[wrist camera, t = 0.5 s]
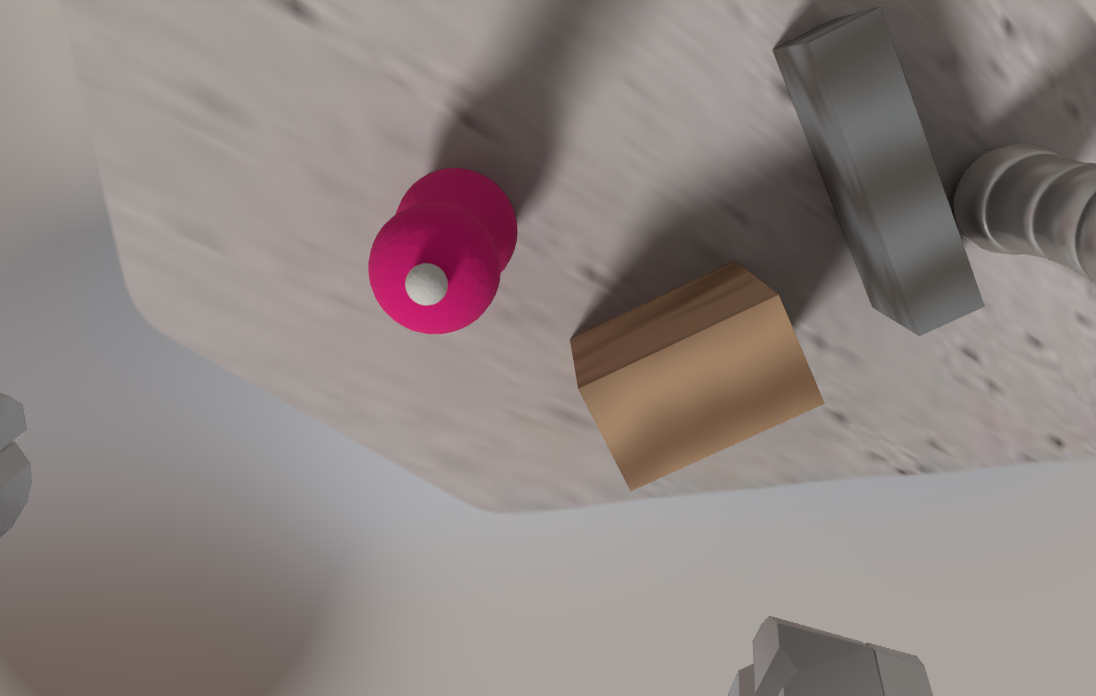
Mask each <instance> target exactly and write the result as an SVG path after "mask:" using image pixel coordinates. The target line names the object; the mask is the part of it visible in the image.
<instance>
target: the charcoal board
mask: <svg viewBox="0 0 1096 696" xmlns="http://www.w3.org/2000/svg"><path fill="white" fill-rule="evenodd" d="M773 53H774V55H775V58H776V60H777V63H778V65H779V68H780V71H781V73H782V76H783V78H784V81H785V83H786V86H787V89H788V91H789V94H790V96H791V99H792V101H793V104H794V107H795V109H796V112H797V114H798V117H799V119H800V122H801V125H802V127H803V130H804V132H805V135H806V137H807V140H808V143H809V145H810V148H811V150H812V153H813V155H814V158H815V161H816V163H817V166H818V168H819V171H820V173H821V176H822V179H823V181H824V184H825V186H826V189H827V191H828V194H829V197H830V199H831V202H832V204H833V207H834V209H835V212H836V215H837V217H838V220H839V222H840V225H841V227H842V230H843V233H844V235H845V238H846V240H847V243H848V245H849V248H850V251H851V253H852V256H853V258H854V261H855V264H856V266H857V269H858V271H859V274H860V276H861V279H862V282H863V284H864V287H865V289H866V292H867V294H868V297H869V300H870V302H871V305H872V307H873V308H874V309H876V310H878V311H879V312H881V313H883V314H884V315H886V316H887V317H889V318H891V319H892V320H894V321H896V322H897V323H899V324H901V325H902V326H904V327H905V328H907V329H909V330H910V331H912V332H914V333H915V334H917V335H919V336H921V335H923V334H925V333H927V332H929V331H932V330H934V329H936V328H938V327H940V326H943V325H945V324H947V323H949V322H951V321H954V320H956V319H958V318H960V317H962V316H965V315H967V314H969V313H971V312H973V311H976V310H978V309H980V308H982V307H984V303H983V301H982V298H981V295H980V292H979V289H978V286H977V283H976V280H975V278H974V275H973V272H972V269H971V266H970V263H969V260H968V257H967V254H966V252H965V249H964V246H963V243H962V240H961V237H960V234H959V231H958V229H957V226H956V223H955V220H954V217H953V214H952V211H951V208H950V206H949V203H948V200H947V197H946V194H945V191H944V188H943V185H942V183H941V180H940V177H939V174H938V171H937V168H936V165H935V162H934V160H933V157H932V154H931V151H930V148H929V145H928V142H927V139H926V137H925V134H924V131H923V128H922V125H921V122H920V119H919V116H918V114H917V111H916V108H915V105H914V102H913V99H912V96H911V93H910V91H909V88H908V85H907V82H906V79H905V76H904V73H903V70H902V68H901V65H900V62H899V59H898V56H897V53H896V50H895V47H894V45H893V42H892V39H891V36H890V33H889V30H888V27H887V24H886V22H885V19H884V16H883V13H882V10H881V7H879V8H875V9H871V10H867V11H863V12H859V13H856V14H852V15H848V16H844V17H840V18H836V19H833V20H831V21H829V22H827V23H825V24H823V25H821V26H819V27H817V28H815V29H813V30H811V31H809V32H807V33H805V34H803V35H801V36H799V37H797V38H795V39H793V40H791V41H789V42H787V43H785V44H783V45H781V46H779V47H777V48H775V49H774V50H773Z"/></svg>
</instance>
